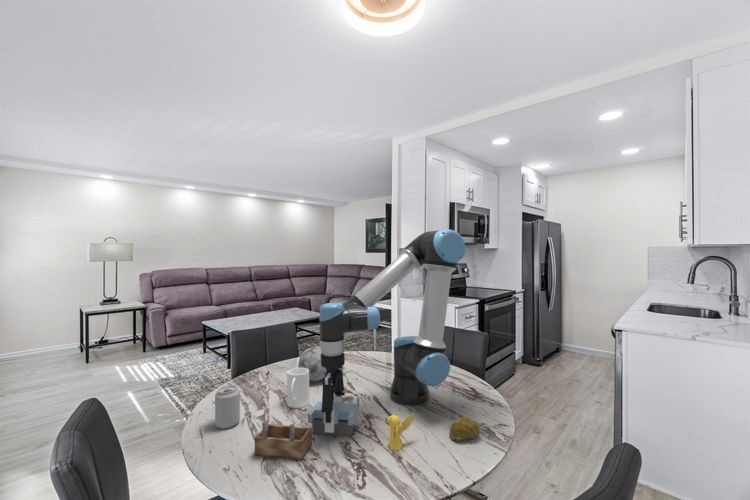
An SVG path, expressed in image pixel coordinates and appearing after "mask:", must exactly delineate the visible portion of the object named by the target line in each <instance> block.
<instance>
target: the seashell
mask: <svg viewBox="0 0 750 500" xmlns="http://www.w3.org/2000/svg"><path fill="white" fill-rule="evenodd" d="M450 426H451V427H450V429H449V439H450V441H454V440H456V442H461V441H465V440H466V439H469V440H472V439H476V437H478V435H479V433H480V427H479V426H480V425H479V424H478V422H477V421H476V420H475V419H473V418H472V417H469V416H460V417H458V418H457V419H455V420H454V421H453V422H452V424H451V425H450Z"/></svg>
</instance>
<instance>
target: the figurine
mask: <svg viewBox="0 0 750 500" xmlns="http://www.w3.org/2000/svg"><path fill="white" fill-rule="evenodd" d="M414 415H415V413H410V415H408V416H407V417H406V418H405V419H403V420H402V421H401V418H400V417H399V416H398V415H397V413H396V412H394V413H393V414H392V415H390V416H389V417H388V418H387V421H386V423H388V424H389V426H390V428H389V427H385V426H380V425H376V424H374V426H376V427H378V428H381V429H384V430H387V431H389V432H390V433H389V441H388V447H389V449H390V450H393V451H400V450H401V449H402V447H403V446H404V442H403V440H402V438H401V436H400V434H401V435H402V434H403V433H404V432H405V431H408V428H410V426H411V425H412V422H414V418H415V416H414Z"/></svg>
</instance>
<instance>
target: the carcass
mask: <svg viewBox="0 0 750 500" xmlns="http://www.w3.org/2000/svg"><path fill="white" fill-rule="evenodd" d="M312 446H313V427H307V426H298V425H295V424H294V423H293V424H292V423H291V424H289V425H285V424H281V425H280V424H270V423H268V422H267V421H266V422H262V429H261V431H260V432H258V433H257V435H255V437H254V456H256V457H257V456H258V457H266V458H267V457H269V458H277V459H278V458H279V459H286V460H287V459H289V460H297V461H303V460H304V458H305V457H306V455H307V453H309V450H310V449H311V447H312Z"/></svg>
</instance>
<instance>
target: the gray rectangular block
mask: <svg viewBox="0 0 750 500" xmlns="http://www.w3.org/2000/svg"><path fill="white" fill-rule="evenodd" d="M353 431H354V424H353V425H348V420H339V422H338V423H337V424H334V433H328V432H325V424H323V418H315V419H314V420H313V422H312V434H322V435H332V436H333V435H336V436H346V437H351V435H352V433H353Z"/></svg>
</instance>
